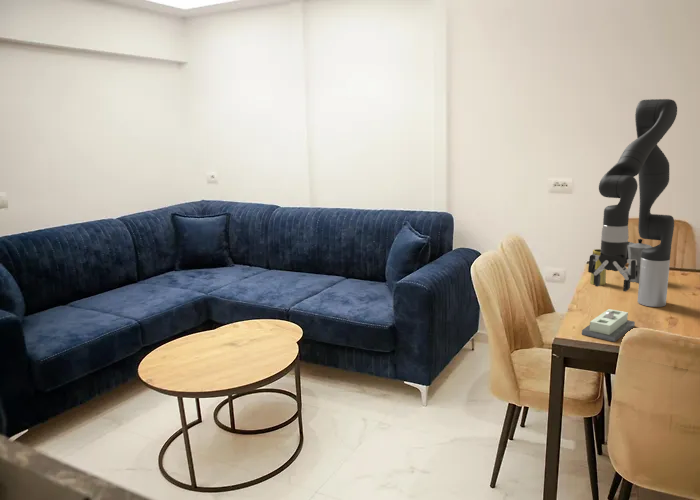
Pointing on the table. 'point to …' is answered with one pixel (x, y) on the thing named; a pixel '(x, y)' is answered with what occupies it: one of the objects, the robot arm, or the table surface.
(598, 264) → the vase
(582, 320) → the table surface
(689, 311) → the table surface
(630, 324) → the base
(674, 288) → the table surface
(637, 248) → the coffeepot
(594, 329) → the flange bar
